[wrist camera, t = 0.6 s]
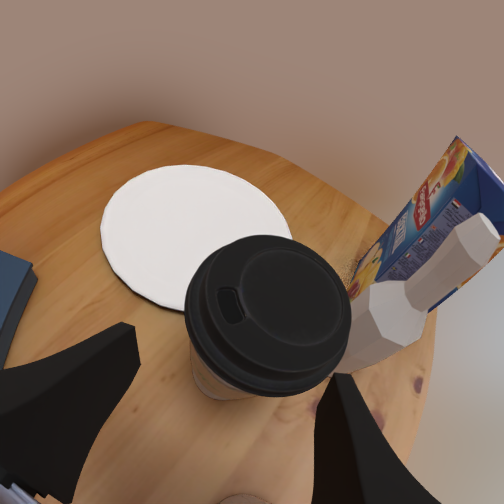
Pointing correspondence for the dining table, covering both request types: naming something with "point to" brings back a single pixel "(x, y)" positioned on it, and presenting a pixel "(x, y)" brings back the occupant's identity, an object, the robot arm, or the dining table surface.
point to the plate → (180, 226)
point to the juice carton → (434, 219)
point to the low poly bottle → (414, 296)
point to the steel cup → (243, 500)
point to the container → (13, 297)
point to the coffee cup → (265, 319)
